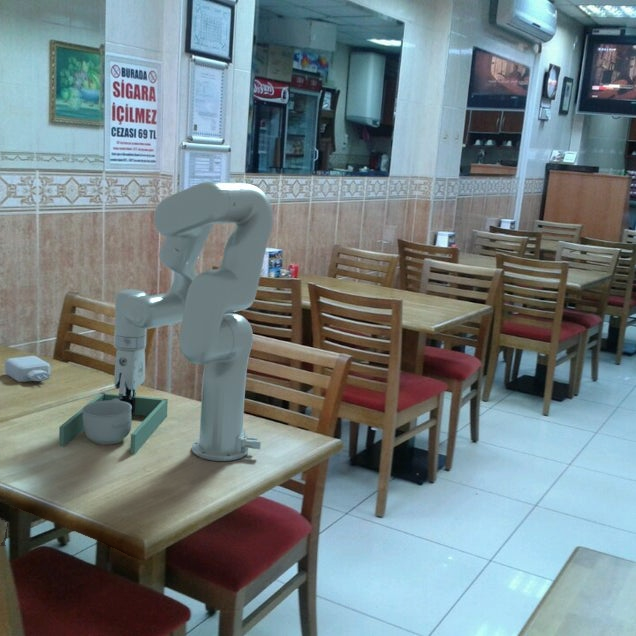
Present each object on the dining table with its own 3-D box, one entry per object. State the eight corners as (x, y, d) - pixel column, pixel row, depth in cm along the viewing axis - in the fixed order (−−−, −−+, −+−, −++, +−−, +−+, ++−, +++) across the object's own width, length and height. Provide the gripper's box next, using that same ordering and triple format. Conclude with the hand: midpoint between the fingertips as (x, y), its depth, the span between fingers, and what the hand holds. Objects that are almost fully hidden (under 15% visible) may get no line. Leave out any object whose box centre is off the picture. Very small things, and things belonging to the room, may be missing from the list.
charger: (27, 389, 201) (5, 375, 212) (60, 384, 207) (36, 370, 218) (27, 372, 200) (4, 359, 211) (60, 368, 206) (37, 355, 217)
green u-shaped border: (167, 416, 189) (167, 399, 188) (134, 454, 164) (135, 434, 163) (101, 409, 190) (101, 392, 189) (59, 446, 165) (59, 426, 164)
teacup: (117, 451, 165) (118, 417, 163) (72, 444, 166) (72, 410, 165) (144, 431, 178) (145, 398, 176) (102, 424, 180) (103, 392, 178)
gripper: (135, 350, 173) (132, 425, 177) (154, 335, 188) (151, 405, 192) (104, 346, 174) (101, 421, 178) (125, 332, 188) (122, 401, 192)
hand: (127, 412), depth 185 cm, fingers closed
